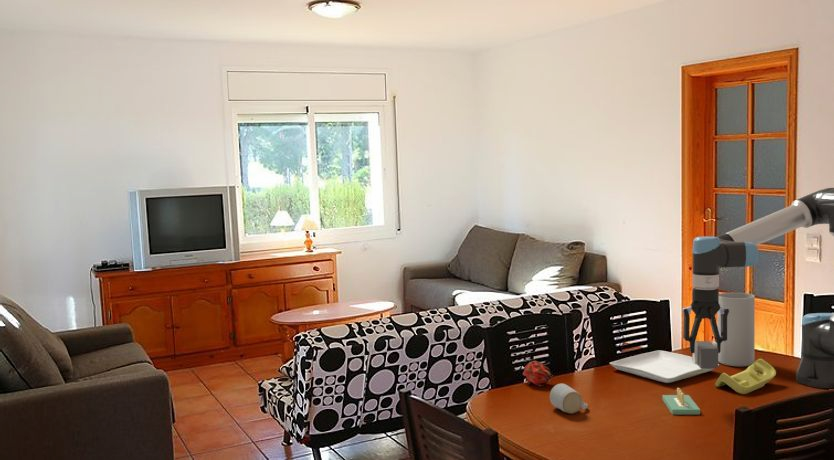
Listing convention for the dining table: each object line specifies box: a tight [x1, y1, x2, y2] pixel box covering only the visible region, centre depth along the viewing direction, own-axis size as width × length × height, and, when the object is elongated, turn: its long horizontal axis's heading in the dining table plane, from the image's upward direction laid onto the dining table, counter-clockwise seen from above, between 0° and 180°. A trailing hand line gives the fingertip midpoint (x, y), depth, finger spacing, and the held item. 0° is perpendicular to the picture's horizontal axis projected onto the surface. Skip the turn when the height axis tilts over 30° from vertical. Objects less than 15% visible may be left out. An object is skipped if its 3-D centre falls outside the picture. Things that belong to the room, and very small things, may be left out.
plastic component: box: [714, 358, 777, 395], centre depth 252 cm, size 20×7×10 cm
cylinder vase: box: [716, 292, 756, 368], centre depth 279 cm, size 12×12×25 cm
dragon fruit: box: [521, 360, 554, 387], centre depth 263 cm, size 8×8×12 cm
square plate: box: [609, 349, 720, 384], centre depth 272 cm, size 27×27×4 cm
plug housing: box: [691, 340, 719, 370], centre depth 234 cm, size 14×5×6 cm, turn 174°
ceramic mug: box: [549, 383, 588, 415], centre depth 235 cm, size 11×8×8 cm
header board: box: [662, 387, 701, 415], centre depth 234 cm, size 8×14×5 cm, turn 174°
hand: (704, 363), depth 233 cm, fingers closed on plug housing, 5 cm apart
